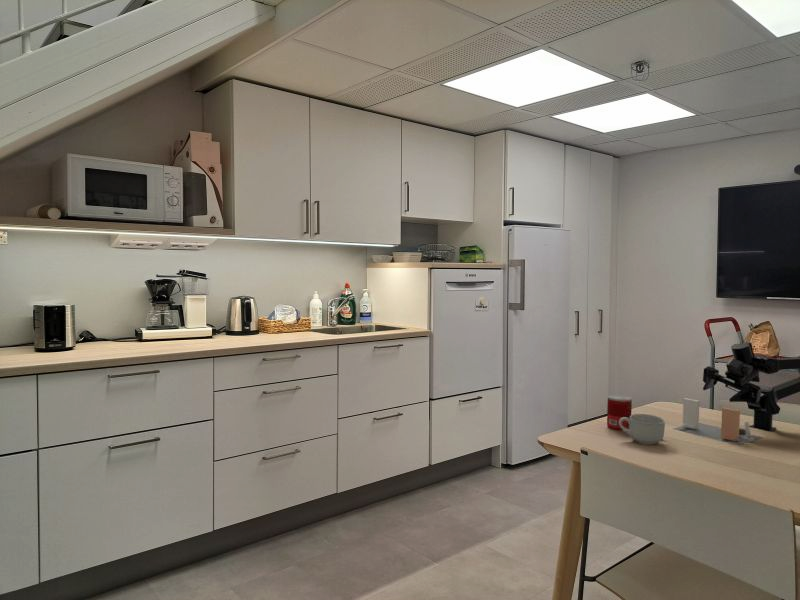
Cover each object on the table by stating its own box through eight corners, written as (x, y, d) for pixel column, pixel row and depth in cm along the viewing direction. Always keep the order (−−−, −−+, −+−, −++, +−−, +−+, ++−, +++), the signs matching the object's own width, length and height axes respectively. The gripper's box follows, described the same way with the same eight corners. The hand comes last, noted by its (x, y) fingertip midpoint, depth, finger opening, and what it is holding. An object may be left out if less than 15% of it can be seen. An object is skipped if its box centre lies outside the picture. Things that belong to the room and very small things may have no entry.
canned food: (632, 431, 197) (633, 400, 196) (608, 429, 199) (609, 398, 198) (628, 425, 204) (629, 395, 204) (605, 424, 206) (606, 394, 206)
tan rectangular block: (724, 436, 188) (725, 407, 187) (740, 439, 184) (741, 410, 183) (719, 437, 186) (720, 408, 186) (735, 441, 182) (736, 411, 181)
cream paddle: (685, 424, 201) (686, 397, 201) (699, 428, 197) (700, 400, 196) (681, 426, 199) (682, 398, 199) (695, 429, 195) (696, 401, 195)
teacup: (664, 439, 187) (665, 416, 187) (664, 449, 178) (665, 423, 177) (619, 434, 193) (620, 411, 193) (617, 442, 183) (618, 418, 183)
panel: (697, 425, 206) (697, 405, 206) (763, 440, 188) (764, 418, 187) (672, 431, 197) (673, 410, 197) (739, 448, 179) (740, 425, 179)
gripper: (718, 346, 203) (692, 364, 196) (773, 366, 188) (746, 386, 181) (716, 372, 208) (690, 390, 201) (769, 393, 193) (743, 414, 186)
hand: (716, 394), depth 192 cm, fingers open, 9 cm apart
